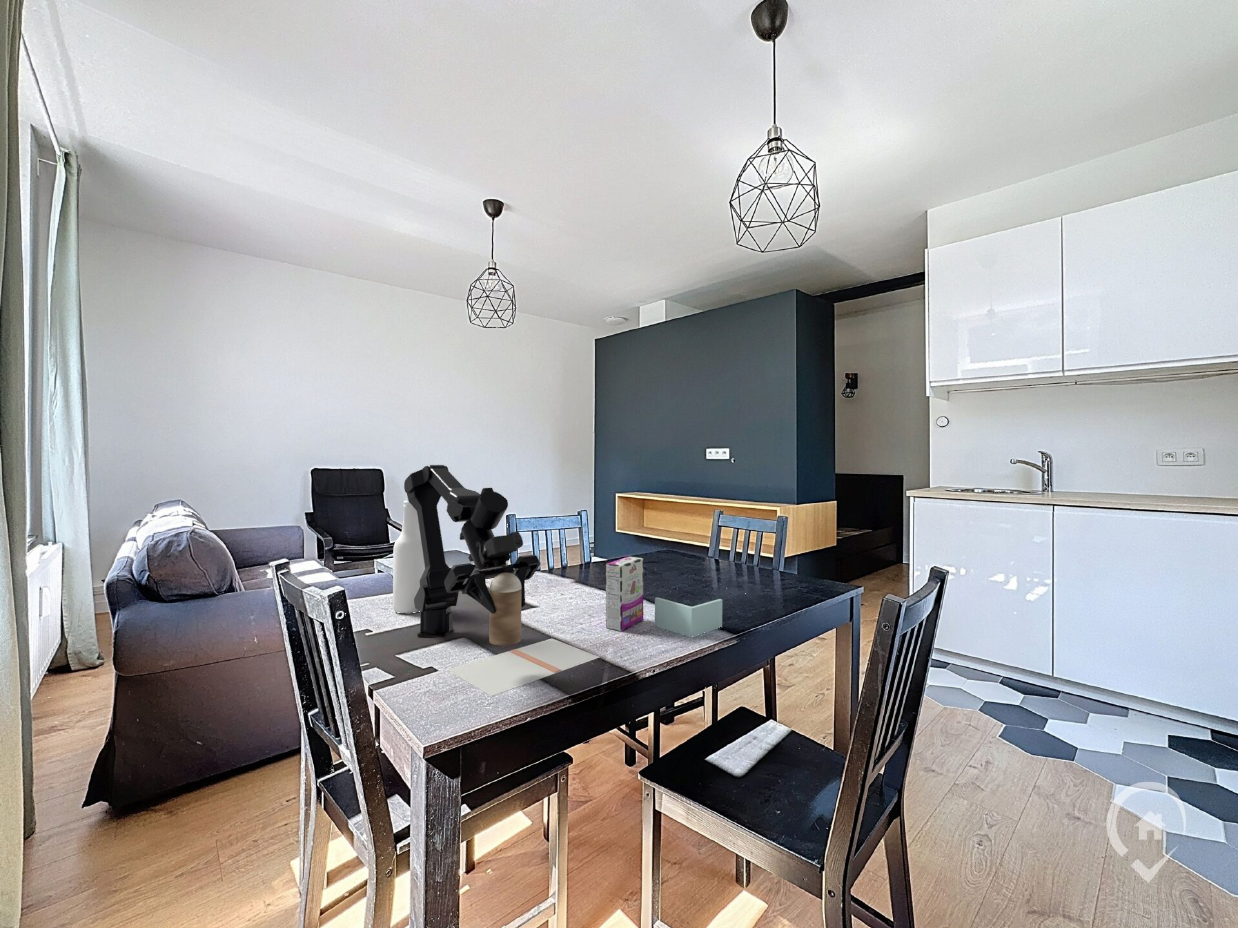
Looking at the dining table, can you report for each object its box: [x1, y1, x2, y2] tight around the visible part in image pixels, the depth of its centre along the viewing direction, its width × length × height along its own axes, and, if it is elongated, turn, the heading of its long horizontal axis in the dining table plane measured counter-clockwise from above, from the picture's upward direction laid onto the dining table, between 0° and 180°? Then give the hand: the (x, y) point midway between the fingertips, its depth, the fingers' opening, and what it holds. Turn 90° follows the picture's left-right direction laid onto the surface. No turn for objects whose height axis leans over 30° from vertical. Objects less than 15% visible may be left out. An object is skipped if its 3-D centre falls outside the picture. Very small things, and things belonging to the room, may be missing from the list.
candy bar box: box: [605, 556, 644, 632], centre depth 137 cm, size 11×5×16 cm, turn 148°
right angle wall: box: [654, 596, 723, 638], centre depth 137 cm, size 12×12×8 cm
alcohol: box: [392, 499, 425, 613], centre depth 148 cm, size 9×9×30 cm
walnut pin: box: [488, 573, 522, 647], centre depth 104 cm, size 6×6×13 cm
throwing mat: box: [446, 638, 601, 697], centre depth 109 cm, size 26×16×1 cm, turn 135°
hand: (509, 609), depth 103 cm, fingers closed on walnut pin, 6 cm apart
